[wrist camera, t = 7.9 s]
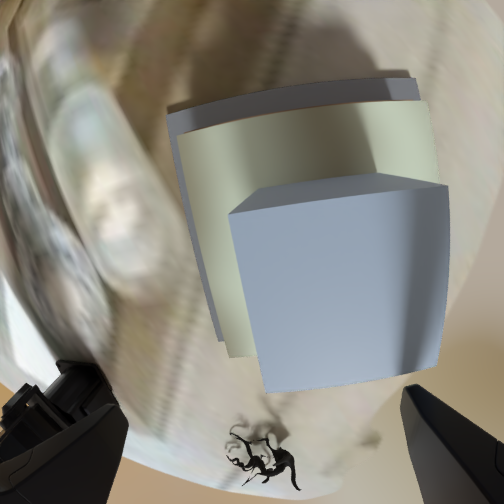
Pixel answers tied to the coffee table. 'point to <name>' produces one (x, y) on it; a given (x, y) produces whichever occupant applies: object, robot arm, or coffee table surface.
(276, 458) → the creature
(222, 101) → the grey square plate
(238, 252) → the top block
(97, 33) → the coffee table surface
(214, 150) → the plinth
